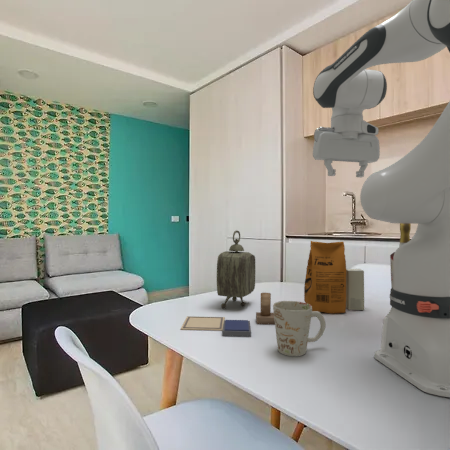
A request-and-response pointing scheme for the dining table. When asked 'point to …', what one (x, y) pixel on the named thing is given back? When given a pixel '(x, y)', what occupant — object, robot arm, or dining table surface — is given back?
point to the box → (354, 289)
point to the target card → (203, 323)
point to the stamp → (265, 311)
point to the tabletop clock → (235, 273)
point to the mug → (295, 326)
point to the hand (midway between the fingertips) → (345, 176)
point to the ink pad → (236, 328)
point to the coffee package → (326, 278)
